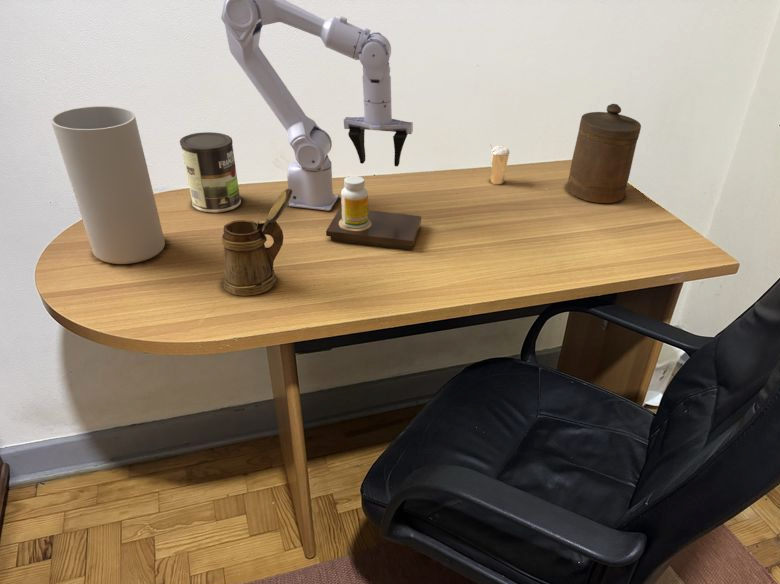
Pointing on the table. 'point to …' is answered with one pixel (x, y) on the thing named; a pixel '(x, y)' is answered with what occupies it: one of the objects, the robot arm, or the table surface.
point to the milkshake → (498, 164)
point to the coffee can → (211, 171)
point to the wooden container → (603, 156)
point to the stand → (378, 230)
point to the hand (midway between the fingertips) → (379, 163)
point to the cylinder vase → (110, 182)
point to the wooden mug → (253, 251)
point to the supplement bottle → (354, 202)
